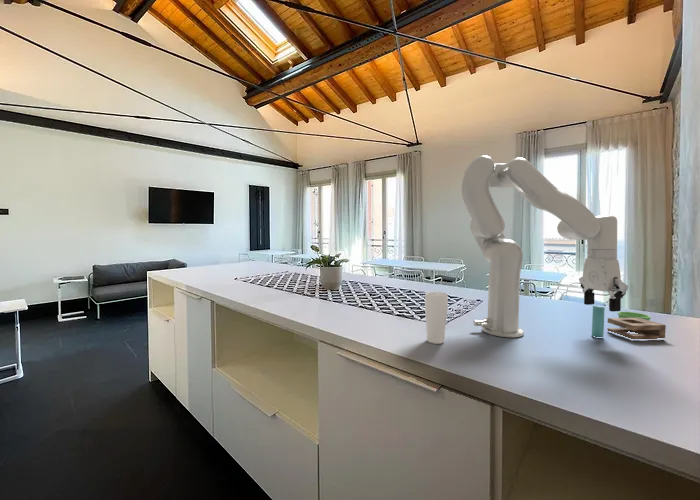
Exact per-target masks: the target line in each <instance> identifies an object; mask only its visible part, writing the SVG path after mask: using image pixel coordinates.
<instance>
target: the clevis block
mask: <svg viewBox="0 0 700 500" xmlns="http://www.w3.org/2000/svg"><path fill="white" fill-rule="evenodd" d="M607 323H608V324H611V325H614V326H617V327H609V328H606V329H607V330H608V331H611V332H614V333H617V334H620V335H623V336H625V337H628V338H631V339H657V338H665V339H666V328H667V327H666V324H664V323H661V322H656V321H653V320H645V319H642V318H619V317H607ZM628 331H630V332H635V333H638V334H630V333H627V332H628Z"/></svg>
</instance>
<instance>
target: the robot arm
mask: <svg viewBox="0 0 700 500" xmlns="http://www.w3.org/2000/svg"><path fill="white" fill-rule="evenodd" d="M462 177H463V178H462V181H461V196H462V200H463V203H464V205H465V207H466V209H467V211H468V215H469V216H470V218H471V220H470V225H469V227H470V232H471V234H472V235H473V238H474V240H475V242H476V244H477V246H478V247H479V249H480V252H481V253H482V255H483V257H484V258H485V260H486V261H487V262H488V263H490V264H489V265H490V266H489V271H488V283H487V284H488V285H487V286H488V287H487V288H488V291H487V293H488V295H487V316H484V318H483V319H482V320H479V319H474V320H473V326H474V327H481V328H482V331H483V332H484V333H486V334H488V335H491V336H497V337H500V338H519V337H522V336H524V330H523V329H522V328H520V327H519V319H520V290H521V289H520V288H521V287H520V283H521V272H522V271H521V270H522V265H523V261H524V260H523V259H524V257H523V256H524V254H523V249H522V247H521V246H520V244H519V243H518V242H517V241H515V240H512V239H509V238H506V237H505V234H504V233H503V232H504V230H505V228H506V223H505V220H504V217H503V216H502V214H501V212H500V210H499V209H498V207H497V205H496V204H495V202H494V199H493V197H492V193H491V192H490V188H502V189H503V188H514V189H515V190H516V191H517V192H518V193H519V194H520V195H521V196H522V197H523V198H524V199H525V200H526V201H527V202H528V203H529V204H530V205H531V206H533V207H534V208H537V209H539V210H540V211H541V210H542V211H544V212H548V213H549V214H551V215H553V216H555V217H556V218H558V219H559V220H560V222H558V224H557V229H556V230H557V233H558V234H559V236H560V237H562V238H564V239H568V240H584V241H585V240H587V242H586V243H587V245H586V246H587V247H586V250H587V251H586V253H587V254H586V255H587V257H586V258H585V259H584V264H583V269H582V276H581V277H579V278H578V280H579V284H580V287H581V289H582V293H583V304H584V305H585V306H586V305H595V292H594V291H597V292H607V293H608V295H609V296H610V298H609V299H608V309H609V310H608V311H609V312H621V309H622V308H621V307H622V305H621V303H622V299H623V298H624V296H625V295H626V294H627V291H628V289H629V285H628V284H626V282H625V283H624V281H622V279H621V278H622V276H621V267H620V263H619V259H618V218H617V217H616V216H614V215H597V216H596V215H595V214H594V213H593V212H592V211H591V210H590V209H589V208H588V207H587V206H586V205H584V204H583V202H581V201H580V200H578V199H576V198H575V197H573V196H572V195H570V194H569V193H567V192H565V191H563V190H561V189H560V188H558V187H556V186H555V185H554V184H553V183H552V182H551V181H550V180H549V179H548V178H546V176H545V175H543V173H541V172H540V171H539V169H537V168H536V167H535V166H534V165H533V164H532V163H531V162H530V161H529V160H527V159H526V158H523V157H516V158H513V159H511V160H510V161H508V162H506V163H495V161H494V159H493V158H492V157H491V156H488V155H480V156H477V157H475V158H474V159H473V160H472V161H471V162H470V163H469V164H468V165H467V167H466V168H465V170H464V173H463V176H462Z"/></svg>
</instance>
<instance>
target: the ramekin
mask: <svg viewBox="0 0 700 500" xmlns="http://www.w3.org/2000/svg"><path fill="white" fill-rule="evenodd" d="M617 316H618V318H642V319H645V320H649V321H651V320H650V319H651V316H650V314H646V313H641V312H635V311H634V312H633V311H617Z"/></svg>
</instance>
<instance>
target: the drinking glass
mask: <svg viewBox="0 0 700 500" xmlns="http://www.w3.org/2000/svg"><path fill="white" fill-rule="evenodd" d="M448 300H449V297H448V293H446V292H441V291H427V292H425V294H424V312H425V313H424V314H425V327H426V341H427V342H428V343H430V344H434V345H439V344H440V345H441V344H443V343H445V340H446V339H445V338H446V337H445V336H446V334H445V333H446V325H447V316H448V304H449V303H448V302H449V301H448Z"/></svg>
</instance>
